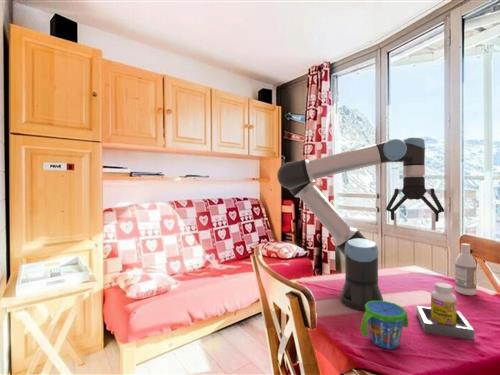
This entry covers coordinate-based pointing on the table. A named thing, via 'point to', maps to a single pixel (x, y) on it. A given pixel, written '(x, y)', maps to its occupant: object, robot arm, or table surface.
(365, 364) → the table surface
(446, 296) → the supplement bottle
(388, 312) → the snack cup
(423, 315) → the grey square tray
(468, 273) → the bath foam
